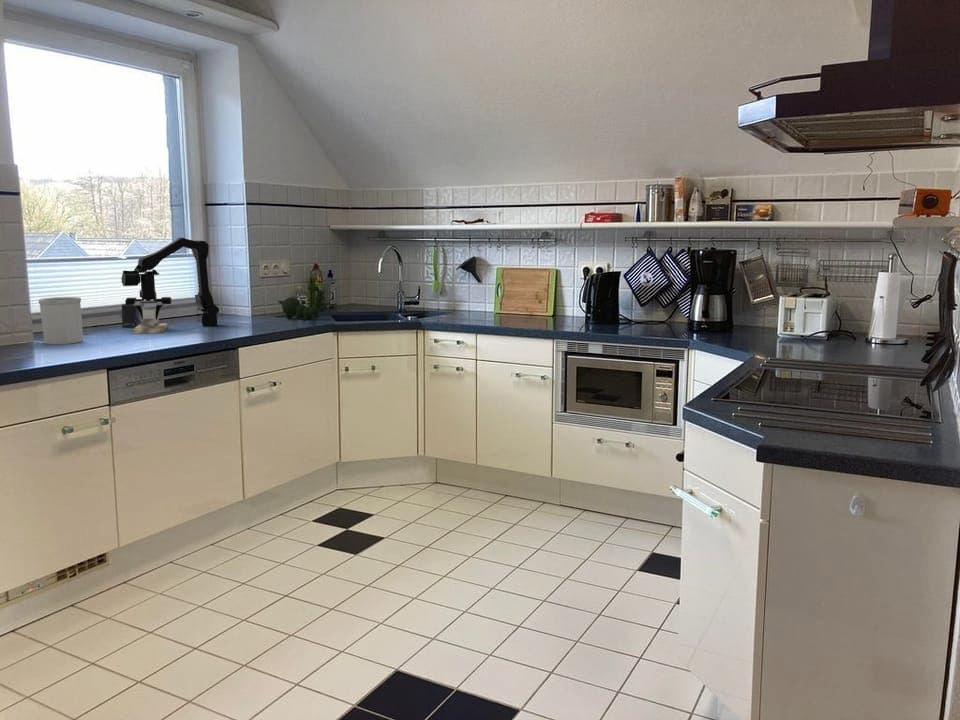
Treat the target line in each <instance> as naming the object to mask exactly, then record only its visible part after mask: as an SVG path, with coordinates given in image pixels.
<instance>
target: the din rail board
mask: <svg viewBox="0 0 960 720" xmlns="http://www.w3.org/2000/svg"><path fill="white" fill-rule="evenodd" d="M159 318H160V317H159V316H158V318H157V323H156V324H155V319H142V320H141V324H139V325H138V326H137V327H133V328H134V329H132V334H133V335H134V334H139V335H140V334H163V333H164V332H165V330H167V328H168V323H160V321H159V320H160V319H159Z"/></svg>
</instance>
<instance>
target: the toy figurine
mask: <svg viewBox="0 0 960 720" xmlns="http://www.w3.org/2000/svg"><path fill="white" fill-rule="evenodd" d="M307 289H308V290H313V291H314V292H316V295H315V300H314V303H313V305H312V307H309V306H306V305H305V304H304V303H303V304H302V303H301V301H300V300H299V298H298V299H297V298H296V297H293V296H292V297H291V296H290V297H286V298H285V299H284V300H278V301H277V303H279V304H280V305H281V309H282V312H283V313H284V314H285V318H286V319H288V320H291V319H293V317H295V319H297V320H299V319H300V318H301V319H303V320H304V321H307V320H311V319H315V318H319V317H320V315H319V313H324V308H322V307H323V306H324V305H325V302H323V301H324V300H325V297H326V296H324V295H325V294H326V293H325V291H323V290H322V289H320V288H319V286H318V285H315V284H311V285H310V286H308V287H307Z"/></svg>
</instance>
